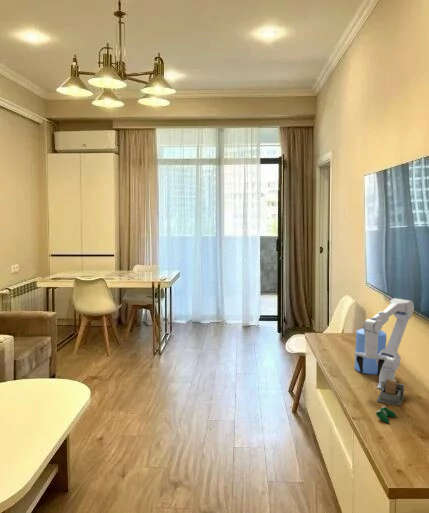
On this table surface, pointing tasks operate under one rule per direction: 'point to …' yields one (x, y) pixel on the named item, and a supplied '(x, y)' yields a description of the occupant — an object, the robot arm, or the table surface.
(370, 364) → the water jug
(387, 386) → the brown rectangular block
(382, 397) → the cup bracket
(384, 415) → the gaming controller
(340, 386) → the table surface
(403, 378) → the table surface
